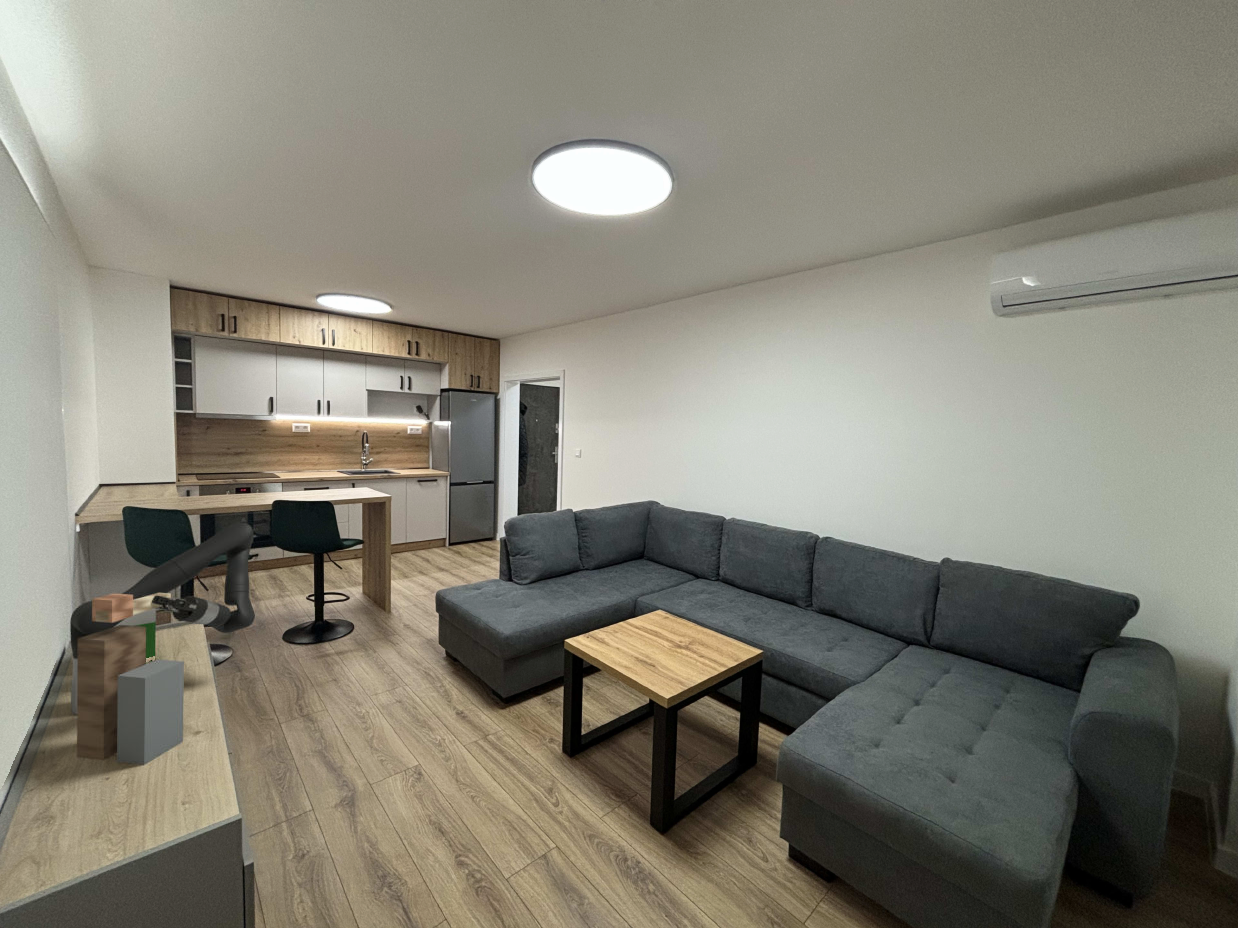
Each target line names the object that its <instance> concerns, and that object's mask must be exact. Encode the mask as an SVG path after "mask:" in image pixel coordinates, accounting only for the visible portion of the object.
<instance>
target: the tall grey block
mask: <svg viewBox="0 0 1238 928" xmlns="http://www.w3.org/2000/svg"><path fill="white" fill-rule="evenodd" d="M184 671H185V661H184V660H172V659H171V660H170V659H162V658H161V659H160V658H158V659H155V661H151V662H147V663H146V665H143V666H141V667H138V668H136V669H133V670H131V671H128V672H126V673H123V674H121V675H118V717H117V753H116V762H117V763H125V764H136V765H146V764H148V763H150V762H151V761H154V760H155V759H156V758H159V756H162V755H163V754H165V753H167V752H168V751H170V750H171V749H173V748H175V747H176V746H178V745H180V744H182V743H183V742H184V685H185V683H184V678H185V676H184V675H185V672H184Z"/></svg>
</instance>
